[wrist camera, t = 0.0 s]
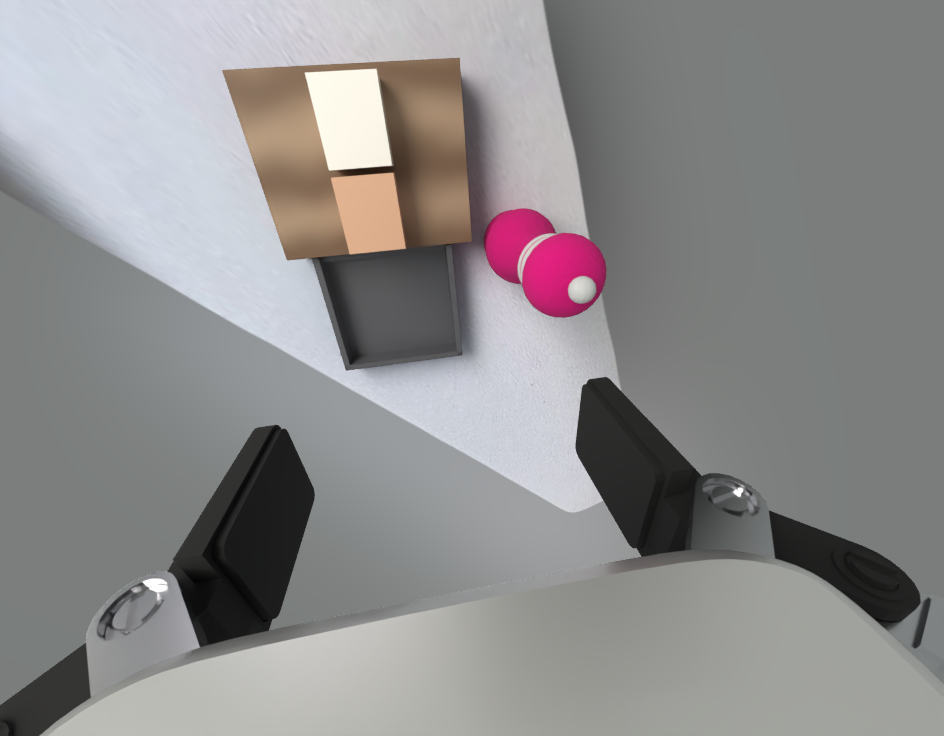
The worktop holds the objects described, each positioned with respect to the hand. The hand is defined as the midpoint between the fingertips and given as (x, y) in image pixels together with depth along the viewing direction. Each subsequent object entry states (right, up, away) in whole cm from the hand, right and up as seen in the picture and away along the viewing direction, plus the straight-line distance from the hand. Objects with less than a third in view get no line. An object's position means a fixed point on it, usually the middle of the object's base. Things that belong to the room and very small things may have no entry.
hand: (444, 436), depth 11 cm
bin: (-8, +10, +29) cm, 32 cm away
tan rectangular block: (-8, +17, +21) cm, 28 cm away
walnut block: (-9, +22, +22) cm, 32 cm away
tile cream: (-9, +22, +17) cm, 30 cm away
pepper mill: (+5, +17, +28) cm, 33 cm away
